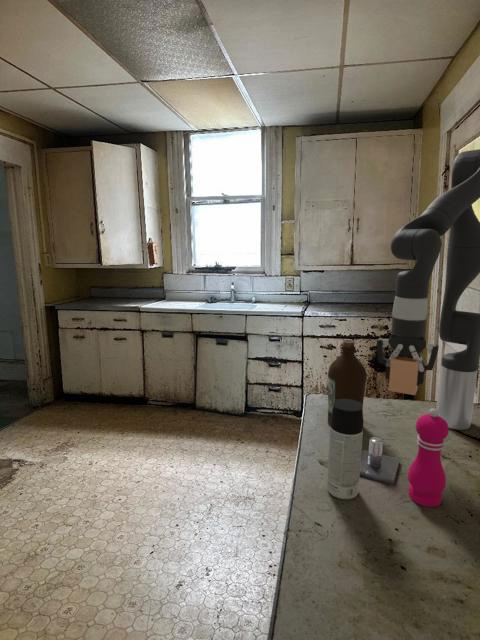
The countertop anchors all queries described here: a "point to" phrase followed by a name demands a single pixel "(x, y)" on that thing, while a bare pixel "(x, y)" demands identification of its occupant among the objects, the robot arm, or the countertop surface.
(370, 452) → the flange
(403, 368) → the duct sleeve
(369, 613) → the countertop surface
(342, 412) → the spray can
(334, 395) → the olive oil
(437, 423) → the pepper mill
